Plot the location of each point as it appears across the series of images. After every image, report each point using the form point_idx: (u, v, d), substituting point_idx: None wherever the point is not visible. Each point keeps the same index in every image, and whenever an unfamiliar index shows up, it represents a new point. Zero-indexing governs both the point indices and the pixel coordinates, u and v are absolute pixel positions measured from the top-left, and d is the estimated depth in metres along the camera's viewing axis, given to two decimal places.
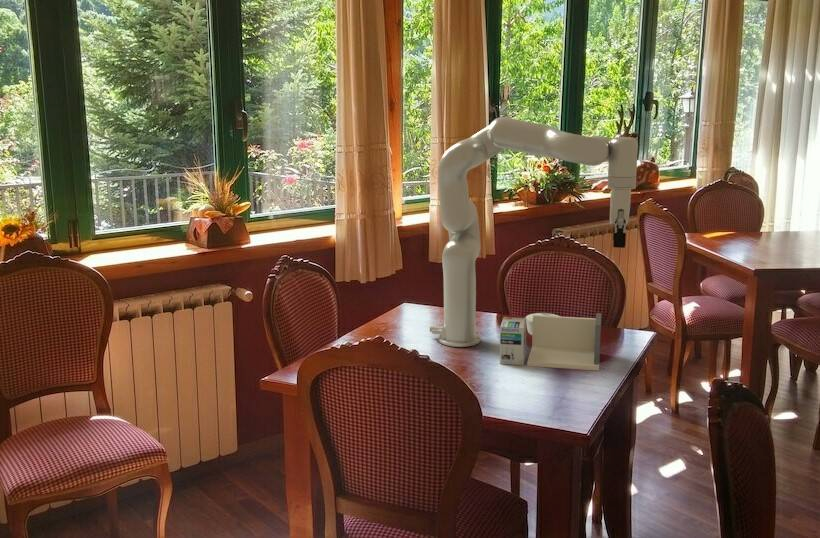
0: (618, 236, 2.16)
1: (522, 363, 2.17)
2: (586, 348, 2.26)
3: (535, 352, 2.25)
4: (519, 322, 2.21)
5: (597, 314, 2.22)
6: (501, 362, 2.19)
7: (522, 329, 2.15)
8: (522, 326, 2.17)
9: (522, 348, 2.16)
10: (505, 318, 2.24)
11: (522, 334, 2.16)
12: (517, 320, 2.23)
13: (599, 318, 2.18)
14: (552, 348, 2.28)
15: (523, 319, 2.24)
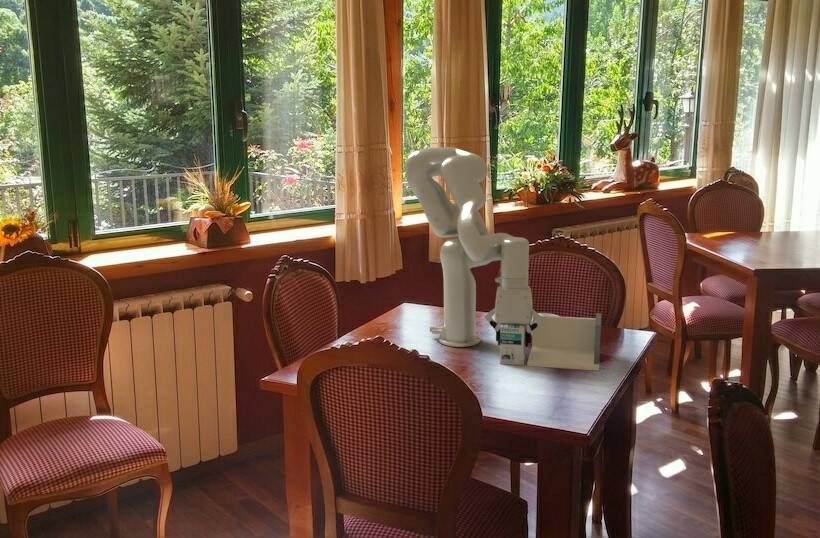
0: (530, 335, 2.20)
1: (522, 363, 2.17)
2: (586, 348, 2.26)
3: (535, 352, 2.25)
4: None
5: (597, 314, 2.22)
6: (501, 362, 2.19)
7: (522, 329, 2.15)
8: (522, 326, 2.17)
9: (522, 348, 2.16)
10: None
11: (522, 334, 2.16)
12: None
13: (599, 318, 2.18)
14: (552, 348, 2.28)
15: None
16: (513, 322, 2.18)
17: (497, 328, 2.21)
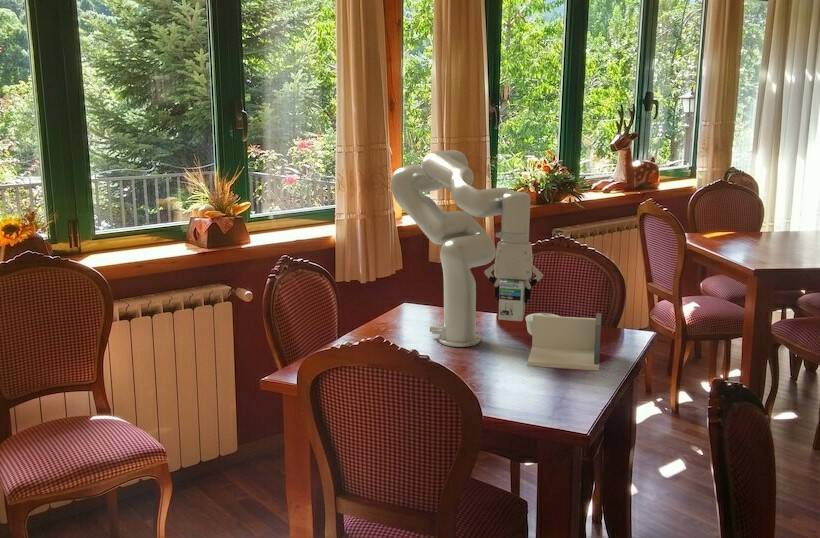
0: (530, 291, 2.18)
1: (521, 319, 2.15)
2: (586, 348, 2.26)
3: (535, 352, 2.25)
4: None
5: (597, 314, 2.22)
6: (500, 318, 2.16)
7: (522, 284, 2.13)
8: (522, 282, 2.15)
9: (521, 304, 2.14)
10: None
11: (522, 290, 2.13)
12: None
13: (599, 318, 2.18)
14: (552, 348, 2.28)
15: None
16: (513, 277, 2.16)
17: (496, 284, 2.19)
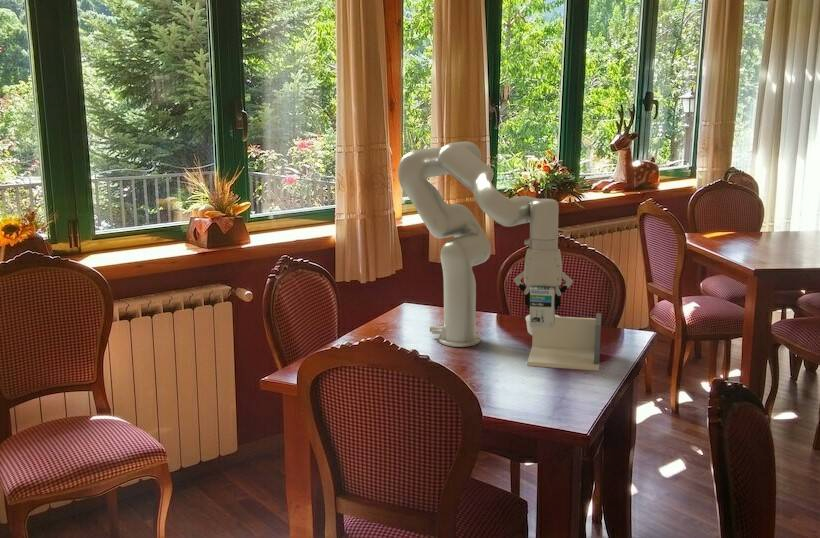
0: (560, 298, 2.18)
1: (552, 326, 2.15)
2: (586, 348, 2.26)
3: (535, 352, 2.25)
4: None
5: (597, 314, 2.22)
6: (531, 325, 2.16)
7: (552, 291, 2.13)
8: (552, 288, 2.15)
9: (552, 310, 2.14)
10: None
11: (552, 296, 2.13)
12: None
13: (599, 318, 2.18)
14: (552, 348, 2.28)
15: None
16: (543, 284, 2.16)
17: (526, 291, 2.19)
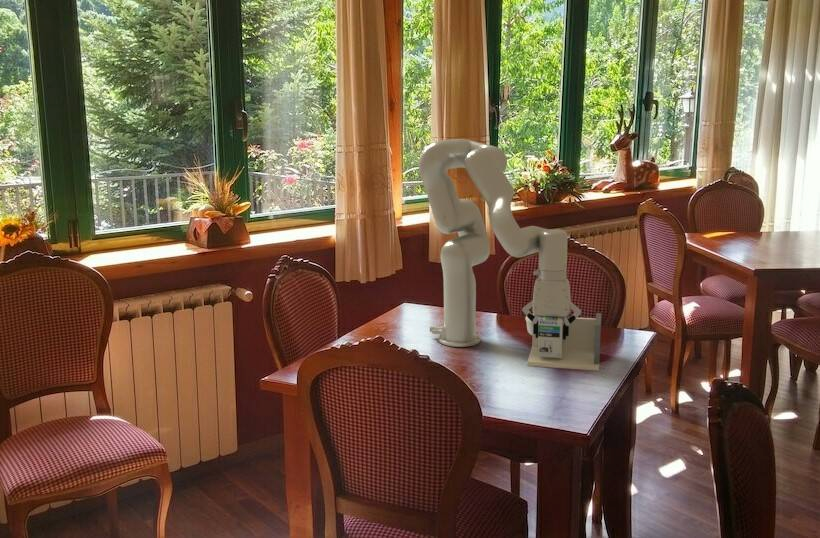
0: (568, 328, 2.19)
1: (560, 356, 2.16)
2: (586, 348, 2.26)
3: (535, 352, 2.25)
4: None
5: (597, 314, 2.22)
6: (539, 355, 2.18)
7: (561, 322, 2.14)
8: (560, 319, 2.16)
9: (560, 341, 2.15)
10: None
11: (561, 327, 2.15)
12: None
13: (599, 318, 2.18)
14: None
15: None
16: (551, 315, 2.17)
17: (535, 321, 2.20)
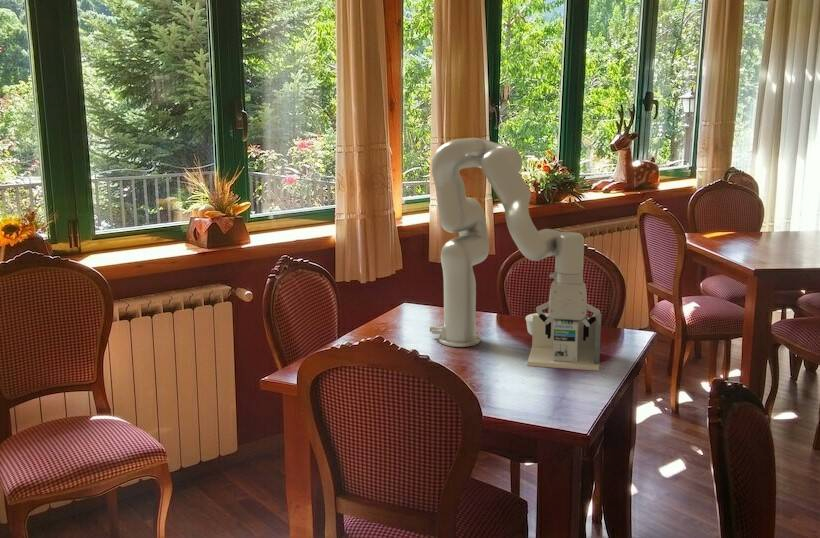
0: None
1: (576, 360, 2.16)
2: (586, 348, 2.26)
3: (535, 352, 2.25)
4: None
5: None
6: (554, 359, 2.17)
7: (576, 325, 2.14)
8: (576, 322, 2.15)
9: (576, 345, 2.15)
10: None
11: (576, 330, 2.14)
12: None
13: (599, 318, 2.18)
14: (552, 348, 2.28)
15: None
16: (567, 318, 2.16)
17: (547, 321, 2.19)
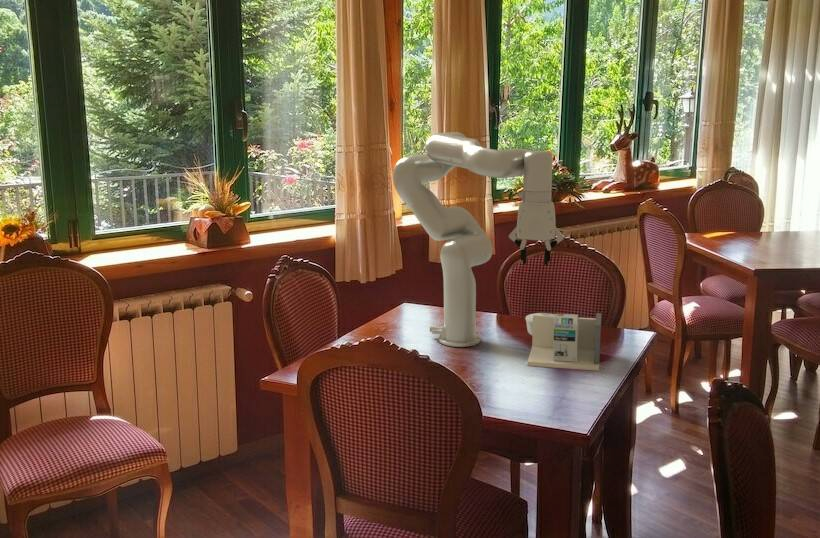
0: None
1: (576, 360, 2.16)
2: (586, 348, 2.26)
3: (535, 352, 2.25)
4: (572, 318, 2.19)
5: (597, 314, 2.22)
6: (554, 359, 2.17)
7: (576, 325, 2.14)
8: (576, 322, 2.15)
9: (576, 345, 2.15)
10: (557, 314, 2.23)
11: (576, 330, 2.14)
12: (569, 316, 2.21)
13: (599, 318, 2.18)
14: (552, 348, 2.28)
15: (575, 315, 2.22)
16: (536, 238, 2.13)
17: (522, 246, 2.15)
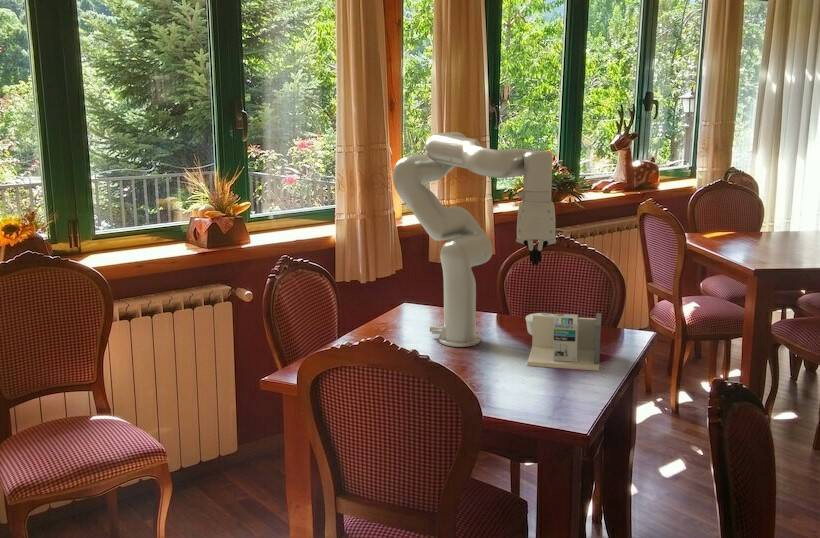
0: None
1: (576, 360, 2.16)
2: (586, 348, 2.26)
3: (535, 352, 2.25)
4: (572, 318, 2.19)
5: (597, 314, 2.22)
6: (554, 359, 2.17)
7: (576, 325, 2.14)
8: (576, 322, 2.15)
9: (576, 345, 2.15)
10: (557, 314, 2.23)
11: (576, 330, 2.14)
12: (569, 316, 2.21)
13: (599, 318, 2.18)
14: (552, 348, 2.28)
15: (575, 315, 2.22)
16: (536, 238, 2.13)
17: (531, 247, 2.15)
